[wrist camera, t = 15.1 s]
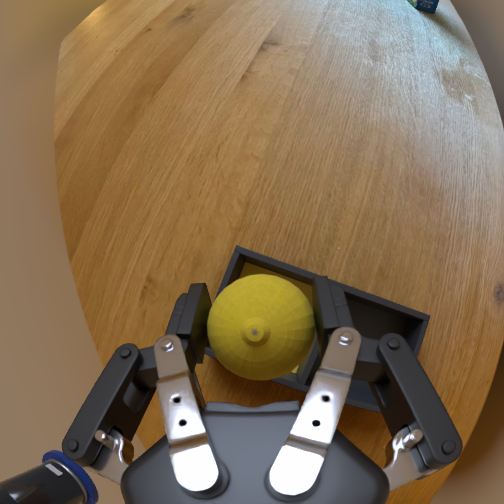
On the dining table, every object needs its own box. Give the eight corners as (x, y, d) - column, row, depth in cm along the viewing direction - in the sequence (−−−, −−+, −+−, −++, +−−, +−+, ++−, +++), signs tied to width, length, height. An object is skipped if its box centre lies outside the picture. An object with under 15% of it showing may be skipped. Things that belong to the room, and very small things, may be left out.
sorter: (378, 402, 25) (392, 415, 21) (207, 344, 28) (194, 349, 24) (411, 315, 27) (430, 315, 22) (242, 254, 30) (236, 244, 25)
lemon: (324, 325, 18) (354, 336, 10) (262, 379, 17) (247, 424, 10) (269, 265, 19) (260, 233, 11) (208, 318, 19) (159, 322, 11)
